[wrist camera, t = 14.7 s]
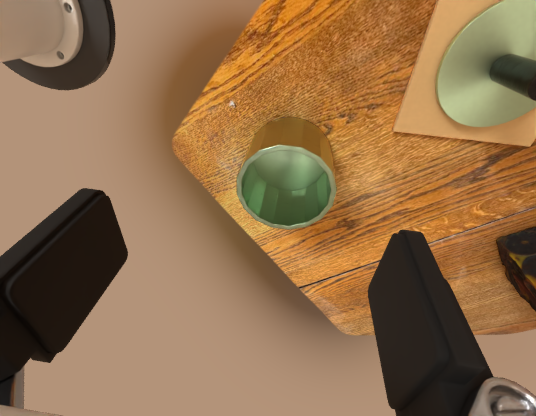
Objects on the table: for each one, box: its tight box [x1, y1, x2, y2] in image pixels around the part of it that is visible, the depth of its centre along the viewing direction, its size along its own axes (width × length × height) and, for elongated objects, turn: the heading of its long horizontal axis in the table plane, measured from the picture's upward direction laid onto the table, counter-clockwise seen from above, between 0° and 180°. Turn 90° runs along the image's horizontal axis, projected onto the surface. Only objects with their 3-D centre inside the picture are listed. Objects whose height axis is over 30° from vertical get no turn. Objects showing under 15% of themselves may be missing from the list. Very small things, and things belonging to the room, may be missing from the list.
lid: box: [435, 0, 536, 127], centre depth 26 cm, size 12×12×8 cm
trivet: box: [392, 0, 536, 147], centre depth 29 cm, size 16×16×1 cm
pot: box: [237, 117, 337, 230], centre depth 35 cm, size 11×11×8 cm
